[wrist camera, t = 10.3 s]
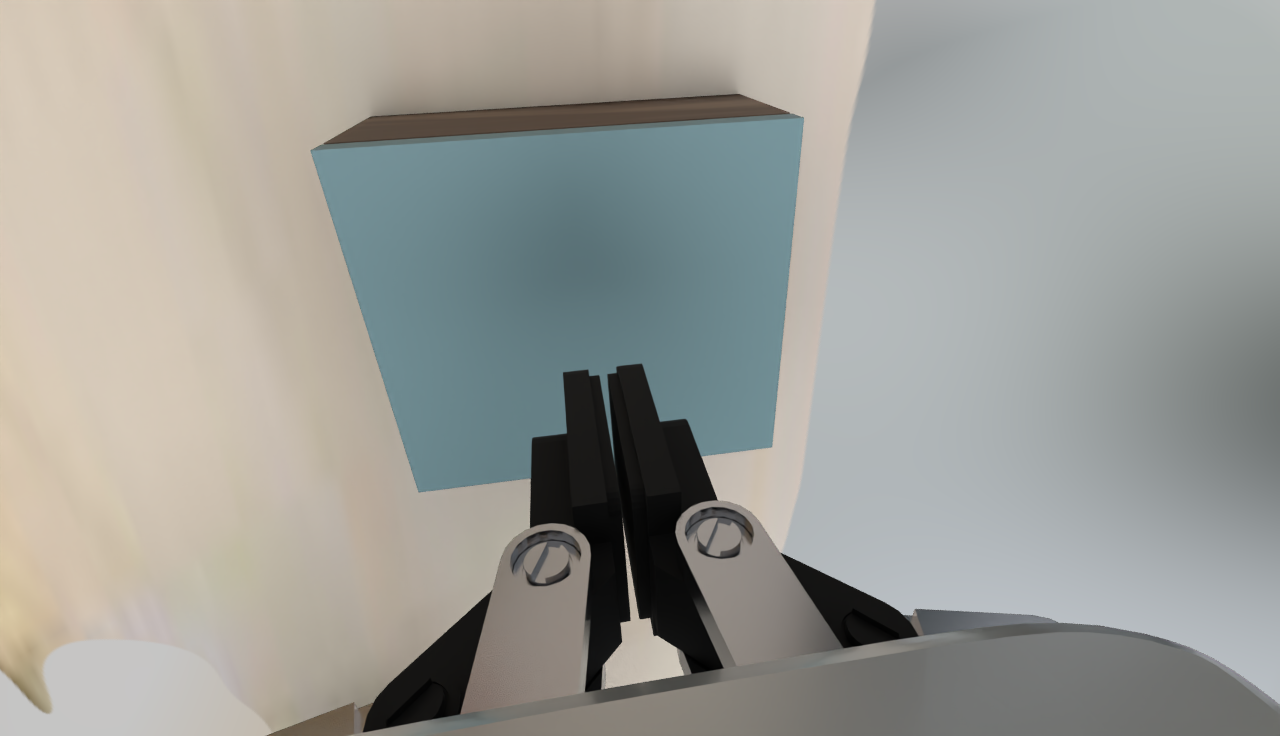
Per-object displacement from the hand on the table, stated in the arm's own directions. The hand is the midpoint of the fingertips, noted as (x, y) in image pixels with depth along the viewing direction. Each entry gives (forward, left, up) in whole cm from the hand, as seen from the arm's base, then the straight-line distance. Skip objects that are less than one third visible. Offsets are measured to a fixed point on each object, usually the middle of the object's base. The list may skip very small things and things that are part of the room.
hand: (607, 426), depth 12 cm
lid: (-3, -3, -14) cm, 14 cm away
